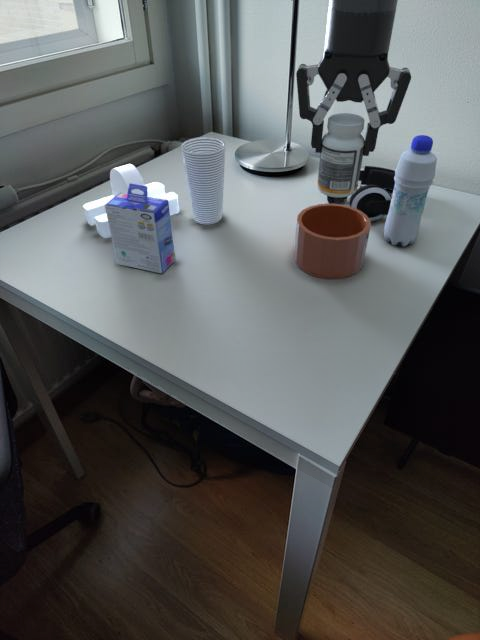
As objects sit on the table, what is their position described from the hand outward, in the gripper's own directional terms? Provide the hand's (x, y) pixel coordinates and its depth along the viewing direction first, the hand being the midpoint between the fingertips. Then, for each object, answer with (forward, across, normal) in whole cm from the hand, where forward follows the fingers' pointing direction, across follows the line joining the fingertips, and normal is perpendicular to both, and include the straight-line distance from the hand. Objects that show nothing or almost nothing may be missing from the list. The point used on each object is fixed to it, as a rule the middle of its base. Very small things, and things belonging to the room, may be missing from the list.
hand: (342, 151), depth 63 cm
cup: (+24, -25, +21) cm, 41 cm away
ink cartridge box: (+24, -33, +3) cm, 41 cm away
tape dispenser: (+24, -41, +19) cm, 52 cm away
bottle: (+24, +14, +18) cm, 33 cm away
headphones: (+24, +9, +32) cm, 41 cm away
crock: (+24, 0, +10) cm, 26 cm away
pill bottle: (+6, 0, 0) cm, 6 cm away
